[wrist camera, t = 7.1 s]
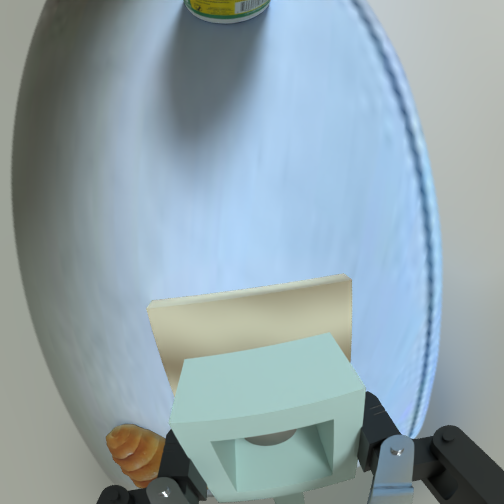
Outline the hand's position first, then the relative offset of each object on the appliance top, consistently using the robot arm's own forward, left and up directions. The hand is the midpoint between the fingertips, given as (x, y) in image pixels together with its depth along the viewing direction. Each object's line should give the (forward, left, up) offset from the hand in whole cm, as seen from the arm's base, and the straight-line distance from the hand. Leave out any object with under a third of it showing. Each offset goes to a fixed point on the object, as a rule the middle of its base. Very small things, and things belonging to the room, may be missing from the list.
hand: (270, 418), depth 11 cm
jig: (0, 0, -5) cm, 5 cm away
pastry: (+11, -10, -6) cm, 16 cm away
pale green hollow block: (+2, 0, -1) cm, 2 cm away
